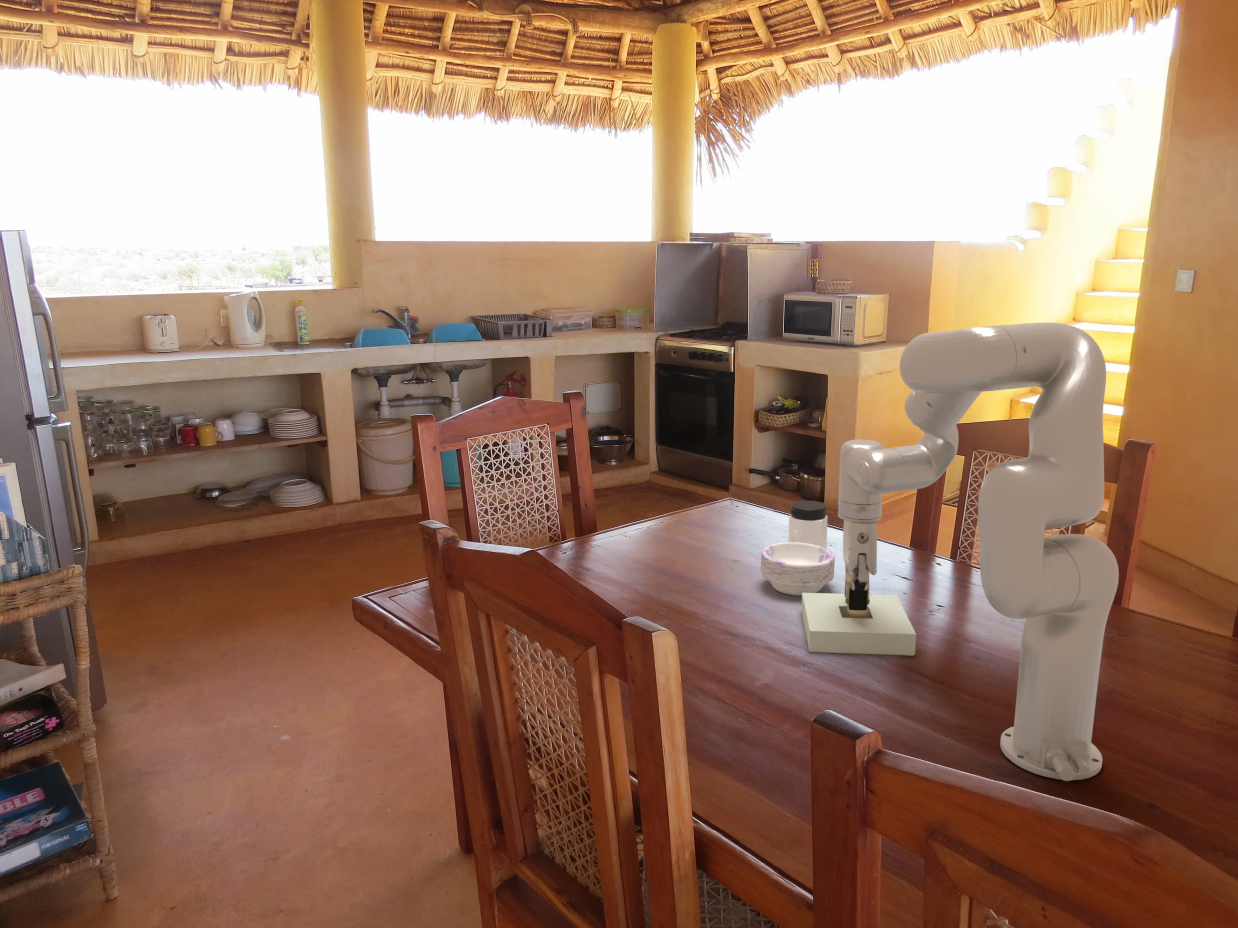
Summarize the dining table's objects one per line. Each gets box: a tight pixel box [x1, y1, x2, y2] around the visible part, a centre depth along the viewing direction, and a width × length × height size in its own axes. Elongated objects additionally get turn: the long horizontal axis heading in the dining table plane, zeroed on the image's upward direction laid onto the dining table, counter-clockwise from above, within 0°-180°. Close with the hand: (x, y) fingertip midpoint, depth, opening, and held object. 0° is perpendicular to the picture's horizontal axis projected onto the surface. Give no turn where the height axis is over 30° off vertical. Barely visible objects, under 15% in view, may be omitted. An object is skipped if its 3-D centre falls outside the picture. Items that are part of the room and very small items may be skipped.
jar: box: [787, 500, 828, 549], centre depth 200 cm, size 9×8×12 cm
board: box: [801, 592, 917, 657], centre depth 158 cm, size 18×18×4 cm
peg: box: [844, 560, 870, 618], centre depth 156 cm, size 4×4×12 cm
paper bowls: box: [760, 541, 836, 597], centre depth 180 cm, size 15×15×8 cm
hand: (855, 602), depth 157 cm, fingers closed on peg, 4 cm apart
